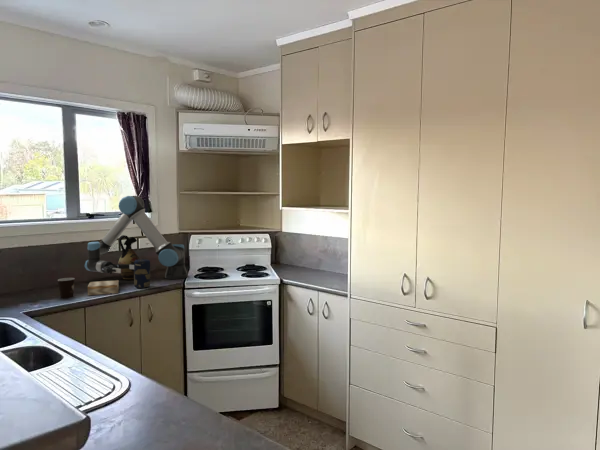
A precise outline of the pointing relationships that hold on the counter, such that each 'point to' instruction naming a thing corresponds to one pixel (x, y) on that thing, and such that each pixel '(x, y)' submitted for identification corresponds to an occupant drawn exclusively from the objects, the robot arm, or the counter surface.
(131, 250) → the ceramic jug
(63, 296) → the coffee mug
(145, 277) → the canister
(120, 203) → the robot arm
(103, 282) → the dock
